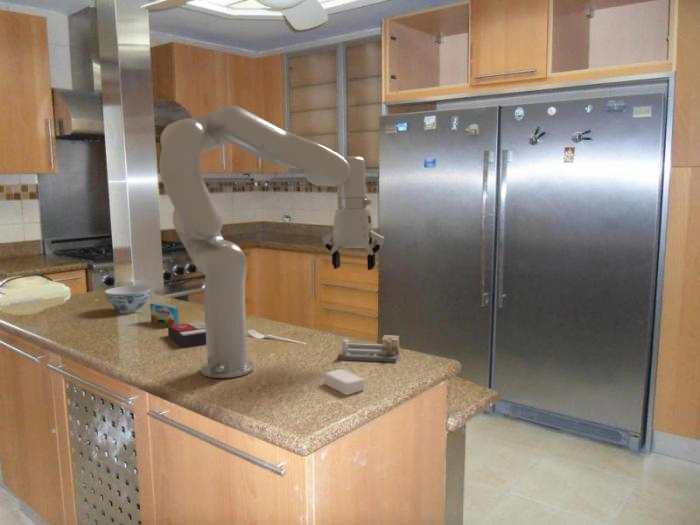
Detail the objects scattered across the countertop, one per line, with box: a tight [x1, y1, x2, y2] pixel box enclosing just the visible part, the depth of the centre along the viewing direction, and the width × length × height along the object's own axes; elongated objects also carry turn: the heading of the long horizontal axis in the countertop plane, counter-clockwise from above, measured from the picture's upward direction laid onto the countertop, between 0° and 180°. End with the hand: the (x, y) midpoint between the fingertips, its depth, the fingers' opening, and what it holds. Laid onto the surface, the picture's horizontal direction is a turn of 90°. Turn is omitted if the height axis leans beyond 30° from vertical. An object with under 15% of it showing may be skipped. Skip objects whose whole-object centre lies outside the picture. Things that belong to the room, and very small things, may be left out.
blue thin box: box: [149, 302, 179, 327], centre depth 187 cm, size 12×2×6 cm, turn 54°
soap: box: [323, 368, 366, 393], centre depth 130 cm, size 9×6×3 cm, turn 35°
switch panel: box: [337, 339, 400, 363], centre depth 152 cm, size 9×15×4 cm, turn 80°
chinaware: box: [104, 285, 152, 314], centre depth 205 cm, size 15×15×8 cm
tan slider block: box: [381, 334, 400, 355], centre depth 151 cm, size 7×4×4 cm, turn 170°
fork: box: [246, 328, 307, 345], centre depth 169 cm, size 3×20×2 cm, turn 61°
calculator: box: [167, 320, 206, 349], centre depth 169 cm, size 11×4×15 cm
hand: (353, 268), depth 156 cm, fingers open, 9 cm apart
